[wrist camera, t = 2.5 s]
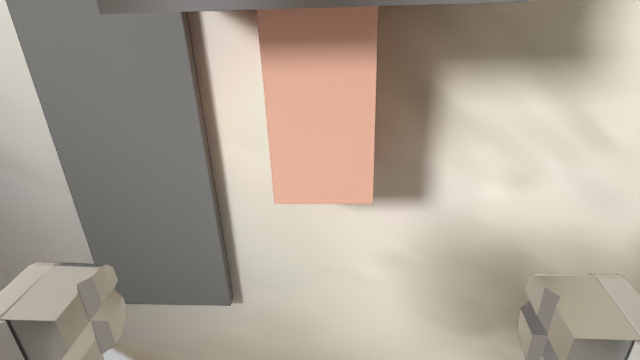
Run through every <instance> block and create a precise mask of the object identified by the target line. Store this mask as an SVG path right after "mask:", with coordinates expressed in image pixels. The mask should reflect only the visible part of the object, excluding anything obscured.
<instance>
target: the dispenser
mask: <svg viewBox="0 0 640 360" xmlns="http://www.w3.org/2000/svg"><path fill="white" fill-rule="evenodd" d="M528 1H529V0H97V4H98V8H99V12H100V14H124V13H158V12H192V11H226V10H261V9H295V8H329V7H363V6H397V5H431V4H465V3H499V2H528Z"/></svg>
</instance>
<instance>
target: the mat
mask: <svg viewBox="0 0 640 360" xmlns="http://www.w3.org/2000/svg"><path fill="white" fill-rule="evenodd" d="M6 3H7V6H8V9H9V12H10V15H11V18H12V21H13V24H14V27H15V30H16V33H17V36H18V39H19V41H20V44H21V47H22V50H23V53H24V56H25V59H26V62H27V65H28V68H29V71H30V74H31V77H32V80H33V83H34V86H35V89H36V92H37V95H38V98H39V101H40V103H41V106H42V109H43V112H44V115H45V118H46V121H47V124H48V127H49V130H50V133H51V136H52V139H53V142H54V145H55V148H56V151H57V154H58V157H59V160H60V163H61V165H62V168H63V171H64V174H65V177H66V180H67V183H68V186H69V189H70V192H71V195H72V198H73V201H74V204H75V207H76V210H77V213H78V216H79V219H80V222H81V225H82V228H83V230H84V233H85V236H86V239H87V242H88V245H89V248H90V251H91V254H92V257H93V260H94V263H95V264H106V265H109V266H111V267H113V268H114V271H115V274H116V276H117V279H118V282H117V284H116V285H115V287H114V290H115V291H117V292H118V293H119V294H120V295H121V296H122V297H123V298H124V301H125V304H167V305H221V306H231V303H232V300H233V294H232V288H231V282H230V276H229V270H228V264H227V258H226V252H225V246H224V239H223V233H222V227H221V221H220V215H219V209H218V203H217V197H216V191H215V185H214V178H213V172H212V166H211V160H210V154H209V148H208V142H207V136H206V130H205V123H204V117H203V111H202V105H201V99H200V93H199V87H198V81H197V75H196V68H195V62H194V56H193V50H192V44H191V38H190V32H189V26H188V20H187V14H186V12H158V13H124V14H100V12H99V8H98V4H97V0H6Z"/></svg>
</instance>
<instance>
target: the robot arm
mask: <svg viewBox="0 0 640 360" xmlns="http://www.w3.org/2000/svg"><path fill="white" fill-rule="evenodd" d="M117 282H118V279H117V276H116V274H115V271H114V268H113V267H111V266H109V265H106V264H84V263H62V262H61V263H54V262H37V263H33V264H30V265H28V266H27V267H26V268H25V269H24V270H23V271H22V272H21V273H20V274H19V275H18V276H17V277H16V278H14V279H13V280H12V281H11V282H10V283H9V284H8V285H7V286H6V287H5V288H4V289H3V290H2V291H0V360H104V358H103V353H104V352H106V351H107V350H109V349H110V348H112V347H113V346H115V345H116V344H117V342H118V340H119V339H120V337H121V335H122V334H123V331H124V327H125V323H126V319H127V312H126V304H125V301H124V298H123V297H122V296H121V295H120V294H119V293H118V292H117V291H115V290H114V287H115V285H116V284H117ZM525 292H526V294H527V296H528V298H529V300H530V301H529V302H528V303H527V304H526V305H525V306H523V307H522V308H521V309H520V314H519V320H518V333H519V340H520V345H521V349H522V351H523V354H524V356H525V359H526V360H640V294H639V293H638V292H637V291H636V290H635V288H634V287H633V286H632V285H631V284H630V283H629V281H628V280H627V279H626V278H625V277H623V276H621V275H619V274H588V275H573V274H531V275H530V277H529V278H528V280H527V284H526V288H525Z"/></svg>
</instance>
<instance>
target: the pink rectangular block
mask: <svg viewBox="0 0 640 360" xmlns="http://www.w3.org/2000/svg"><path fill="white" fill-rule="evenodd" d="M257 21H258V31H259V42H260V53H261V64H262V74H263V85H264V96H265V107H266V117H267V128H268V139H269V149H270V160H271V171H272V182H273V192H274V203H275V204H373V178H374V141H375V105H376V68H377V31H378V6H363V7H329V8H295V9H261V10H257Z"/></svg>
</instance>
